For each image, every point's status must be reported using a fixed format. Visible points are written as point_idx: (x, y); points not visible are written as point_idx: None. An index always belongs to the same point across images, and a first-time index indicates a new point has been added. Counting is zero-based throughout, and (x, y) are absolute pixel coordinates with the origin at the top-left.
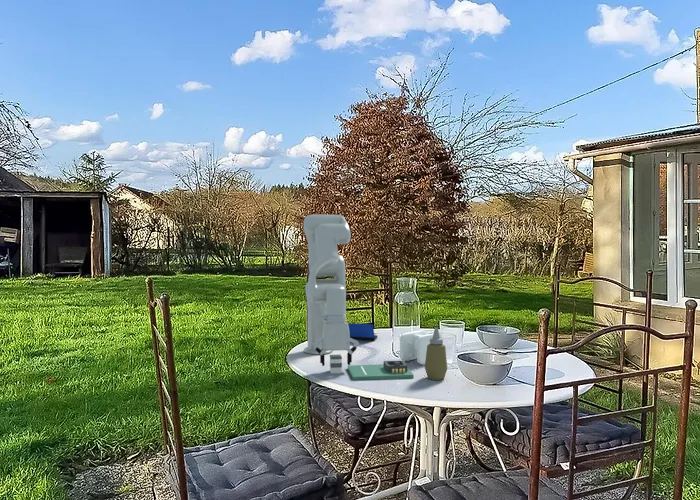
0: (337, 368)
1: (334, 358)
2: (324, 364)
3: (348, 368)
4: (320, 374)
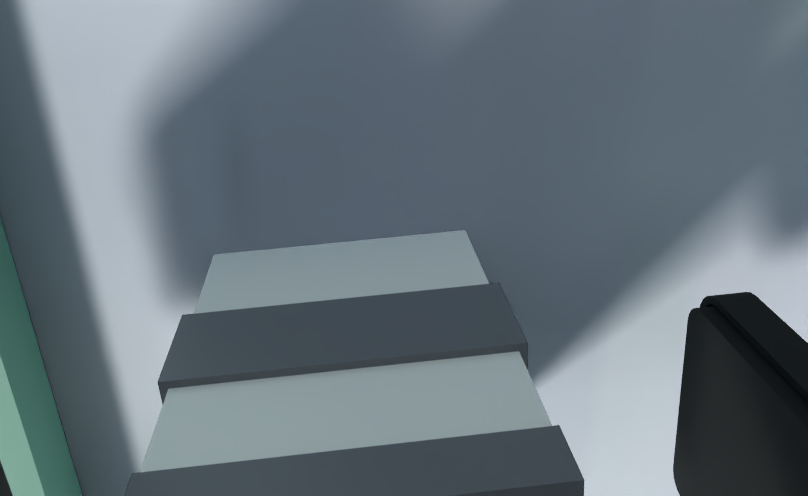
0: (309, 295)
1: (422, 465)
2: (707, 315)
3: (50, 469)
4: (709, 151)
